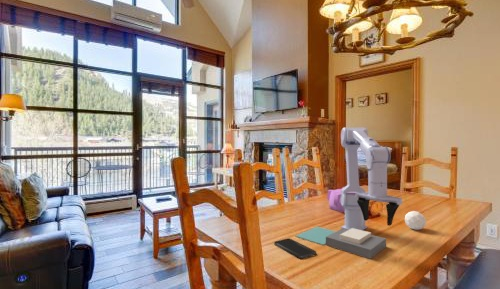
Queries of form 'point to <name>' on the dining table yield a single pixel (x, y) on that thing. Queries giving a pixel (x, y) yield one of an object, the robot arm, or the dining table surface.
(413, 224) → the geometric ball
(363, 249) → the block
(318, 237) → the mat
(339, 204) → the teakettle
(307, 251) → the phone
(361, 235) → the tile
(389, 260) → the dining table surface
